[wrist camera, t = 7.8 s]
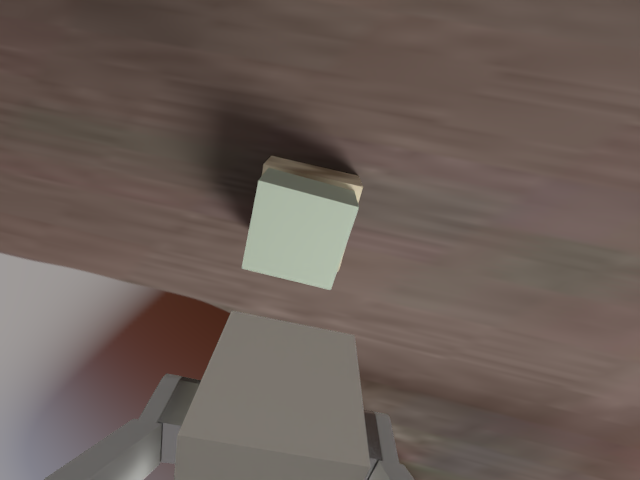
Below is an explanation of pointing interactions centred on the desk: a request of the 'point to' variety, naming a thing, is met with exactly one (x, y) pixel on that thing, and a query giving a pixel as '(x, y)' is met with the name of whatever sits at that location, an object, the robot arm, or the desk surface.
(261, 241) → the green tower middle block
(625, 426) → the desk surface
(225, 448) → the cream block
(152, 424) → the robot arm
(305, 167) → the tower base
